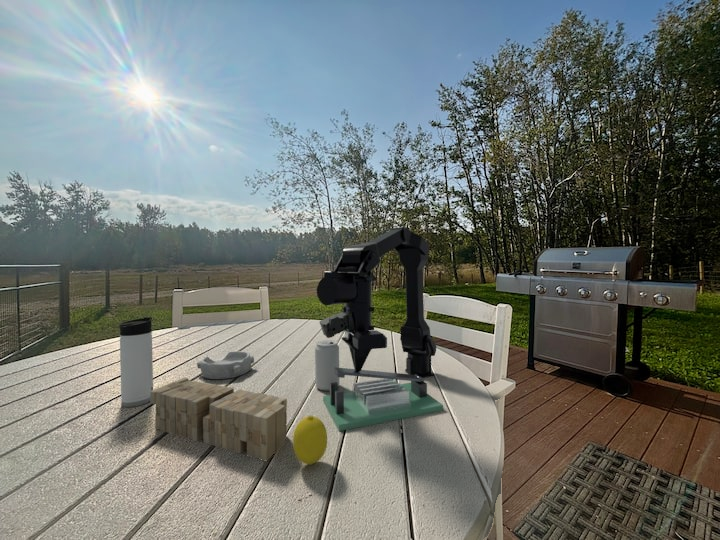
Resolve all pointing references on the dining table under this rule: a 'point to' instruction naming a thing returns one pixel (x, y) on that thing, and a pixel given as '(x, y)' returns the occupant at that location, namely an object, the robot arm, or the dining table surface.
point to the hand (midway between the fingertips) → (357, 371)
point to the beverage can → (326, 364)
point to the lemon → (310, 440)
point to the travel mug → (136, 362)
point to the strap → (376, 374)
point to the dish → (226, 365)
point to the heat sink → (378, 395)
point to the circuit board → (359, 416)
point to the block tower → (222, 416)
